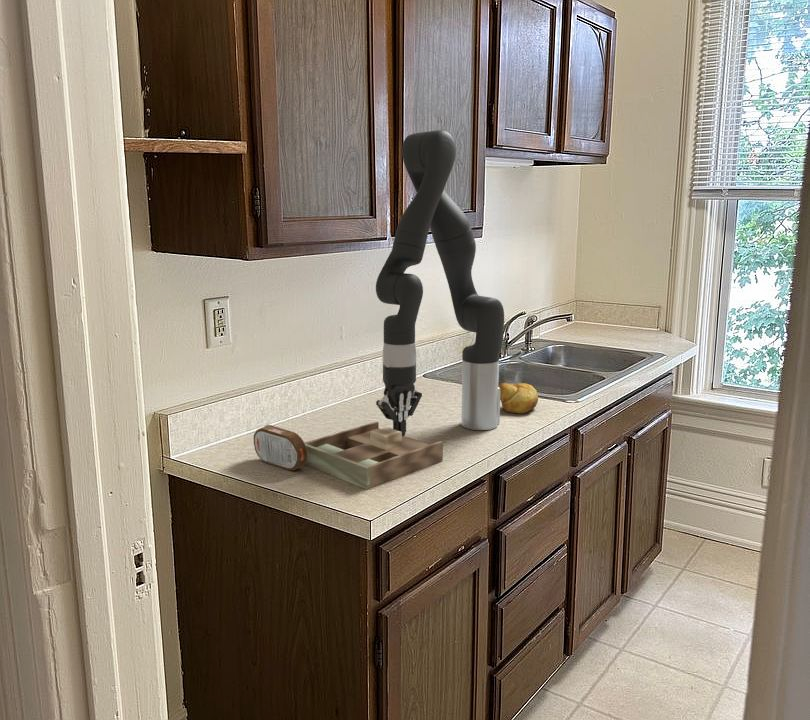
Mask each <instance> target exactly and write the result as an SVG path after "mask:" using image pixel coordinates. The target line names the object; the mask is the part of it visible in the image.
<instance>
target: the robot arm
mask: <svg viewBox="0 0 810 720" xmlns="http://www.w3.org/2000/svg"><path fill="white" fill-rule="evenodd" d="M456 154H457V146H456V142H455V140H454V137H453V136H452V135H451V134H450V133H449V132H448V131H447V130H442V129H441V130H439V129H438V130H430V131H429V130H428V131H421V132H416V133H411V134H409V135H407V136H406V137H405V139H404V140H403V143H402V147H401V155H402V160H403V164H404V168H405V170H406V172H407V174H408V177H409V178H410V180H411V183H412V185H413V188H414V190H415V191H416V194H415V195H414V197H413V199H412V200H411V201H410V203H409V204H408V206H407V207H406V209H405V210H404V212H403V213H402V215H401V216H400V220H398V221H399V222H398V223H397V228H396V230H395V231H396V232H395V234H394V240H393V243H392V244H393V245H392V248H391V252H389V255H388V257H387V258H386V261H385V262H384V265H383V266H382V268H381V270H380V271H379V273H378V277H377V279H376V282H375V283H376V284H375V293H376V297H377V298H378V300H379V301H380V302H381V303H383V304H386V305H388V304H389V305H393V306H394V305H397V306H399V309H398V312H397V314H392V315H388V316H387V317H385V318H384V321H383V347H382V382H383V383H384V386H385V387H384V390H383V397H382V398H381V399H377V400H376V402H375V405H376V406H377V408H378V409H379V410H380V411H381V414H383V416H384V417H385V418H386V419H387V420H391V421H392V429H394V430H397V431H401V432H402V436H405V437H406V433H407V420H408V418H409V417H412V416H413V415H414V413H415V411H416V408H417V407H418V405H419V403H420V401H421V399H422V397H423V393H422V392H419V391H417V390H416V387H415V383H416V382H417V349H416V324H417V323H416V322H417V318H418V315H419V311H420V306H421V303H422V300H423V297H424V287H423V282H422V281H421V279H420V277H418V276H417V275H416V274H414V273H405V272H406V270H407V269H408V268H410V267H412V266H416V265H420V264H421V262H422V260H423V257H424V254H425V249H426V245H427V241H428V236H429V231H430V232H431V235H432V239H433V241H434V246H435V247H436V251H437V254H438V256H439V259H440V262H441V265H442V267H443V272H444V273H445V278H446V281H447V285H448V288H449V293H450V296H451V301H452V306H453V311H454V315H455V318H456V321H457V323H458V325H459V327H460V328H462V329H463V330H464V331H467V332H471V333H475V341H474V343H473V344H472V345H468V346H465V347H463V349H462V352H461V353H462V355H461V358H462V359H461V360H462V361H461V420H460V422H461V423H460V424H461V426H462V428H464V429H468V430H474V431H489V430H493V429H495V428H497V427H498V425H499V424H500V423H501V422H500V421H501V420H500V419H501V418H500V417H501V416H500V415H501V400H500V388H499V387H498V386H499V383H500V382H499V378H500V376H499V373H500V368H499V367H500V353H501V351H502V348H503V344H504V328H505V310H504V305H503V304H502V302H501V301H500V300H499V299H498V298H495V297H491V296H484V295H479V293H478V291H477V290H476V287H475V284H474V281H473V276H472V269H473V265H474V261H475V256H476V252H477V244H476V240H475V237H474V233H473V229H472V227H471V223H470V221H469V219H468V217H467V215H466V214H465V213H464V211H463V210H462V209H461V208H460V206H458V204H457V203H455V201H454V200H453V199H452V198H451V197H450V195H449V194H448V193H447V192H446V190H445V188H446V185H447V183H448V179H449V177H450V175H451V172H452V170H453V167H454V165H455V160H456V156H457V155H456Z"/></svg>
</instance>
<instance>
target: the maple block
mask: <svg viewBox="0 0 810 720" xmlns="http://www.w3.org/2000/svg"><path fill="white" fill-rule="evenodd" d="M370 444H371V445H373V446H376V447H379V448H382V449H385V450H387V449H390V448H393V447H396V446H399V445H402V432H401V431H397V430H394V429H393V428H391V427H387V426H385V427H382V428H380V429H379V430H375V431H372V432H370Z"/></svg>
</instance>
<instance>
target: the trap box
mask: <svg viewBox="0 0 810 720" xmlns="http://www.w3.org/2000/svg"><path fill="white" fill-rule="evenodd" d="M379 424H380V423H379V421H373V422H370V423H366V424H363V425H360V426H359V425H358V426H357V427H356V426H355V427H353V428H350V429H347V430H342V431H340V432H337V433H333V434H329V435H326V436H323V437H319V438H316V439H312V440H308V441H306V442H304V443H305V445H306V448H307V454H308V455H307V461H306V464H305V465H304V466H308V467H310V468H313V469H315V470H317V471H320V472H322V473H326V474H328V475H331V476H333V477H335V478H338V479H340V480H343V481H345V482H348V483H351V484H353V485H355V486H357V487H359V488H363V489H365V490H369V489H372V488H374V487H376V486H380V485H382V484H385V483H387V482H390V481H393V480H395V479H398V478H401V477H404V476H406V475H409V474H411V473H414V472H417V471H420V470H422V469H425V468H428V467H430V466H434V465H436V464H439V463H442V462H443V461H444V460H443V459H444V458H443V457H444V456H443V454H444V453H443V452H444V442H443V441H442V440H440V441H436V442H433V443H431V444H430V443H426V442H423V441H421V440H417V439H414V438H411V437H408V436H406V435H405V436H402V445H399V446H396V447H393V448H390V449H387V450H385V449H382V448H379V447H376V446H373V445H371V444H370V432H372V431H375V430H379V429H381V428H379V427H380V425H379Z"/></svg>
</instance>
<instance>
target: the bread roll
mask: <svg viewBox="0 0 810 720" xmlns="http://www.w3.org/2000/svg"><path fill="white" fill-rule="evenodd" d="M498 387H499V388H500V404H501V407H502V408H503V410H504V411H505V412H508V413H513V414H525V413H527V412H529V411H532V410H533V409H535V408H536V407H537V404H538V401H539V396H540V395H539V393H538V392H537V391H538V390H537V389H535V388H534V387H533V385H531V384H529V383H524V382H523V383H521V382H519V383H518V382H517V383H513V384H509V383H506V382H502V383H500V384H498Z"/></svg>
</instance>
